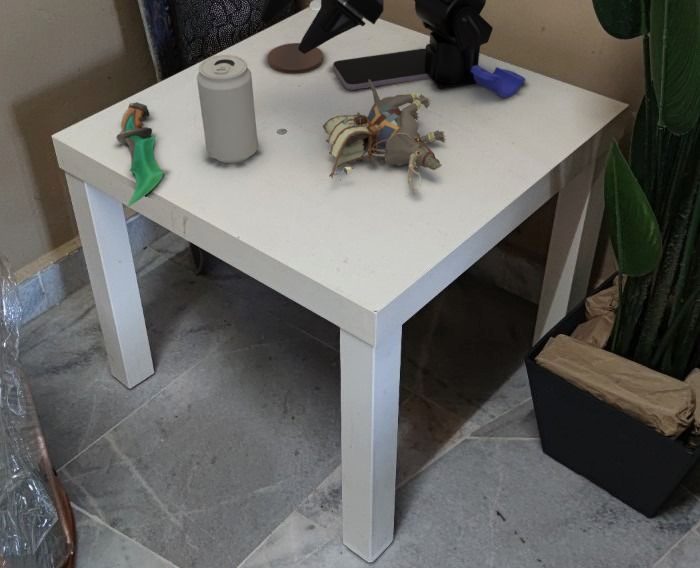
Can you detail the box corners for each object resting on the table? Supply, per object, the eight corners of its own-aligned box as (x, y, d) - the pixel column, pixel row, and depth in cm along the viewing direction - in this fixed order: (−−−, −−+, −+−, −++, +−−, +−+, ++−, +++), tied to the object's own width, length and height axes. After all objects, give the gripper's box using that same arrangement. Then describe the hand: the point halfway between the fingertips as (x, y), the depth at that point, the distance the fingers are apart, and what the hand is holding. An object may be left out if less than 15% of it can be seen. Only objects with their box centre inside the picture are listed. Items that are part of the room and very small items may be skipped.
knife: (151, 110, 122) (112, 111, 121) (150, 98, 121) (111, 100, 119) (169, 210, 107) (126, 213, 106) (169, 197, 106) (125, 201, 105)
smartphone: (448, 70, 128) (347, 86, 124) (447, 77, 129) (347, 93, 125) (428, 47, 133) (330, 61, 130) (428, 54, 134) (330, 68, 130)
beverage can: (262, 139, 117) (254, 53, 109) (253, 167, 112) (244, 80, 104) (213, 136, 117) (202, 51, 109) (202, 165, 112) (189, 77, 104)
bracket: (532, 81, 125) (525, 99, 127) (507, 68, 128) (500, 85, 129) (490, 77, 119) (483, 95, 120) (465, 63, 122) (458, 81, 123)
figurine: (483, 138, 107) (359, 183, 100) (478, 179, 111) (358, 225, 105) (392, 58, 119) (276, 94, 113) (390, 97, 123) (278, 134, 117)
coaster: (315, 43, 136) (315, 39, 135) (329, 68, 130) (329, 64, 130) (262, 50, 134) (262, 47, 134) (274, 76, 129) (274, 73, 128)
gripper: (272, -141, 106) (197, -26, 109) (361, -93, 94) (274, 34, 97) (332, -86, 114) (261, 19, 117) (420, -36, 102) (338, 80, 105)
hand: (281, 36), depth 109 cm, fingers open, 9 cm apart
